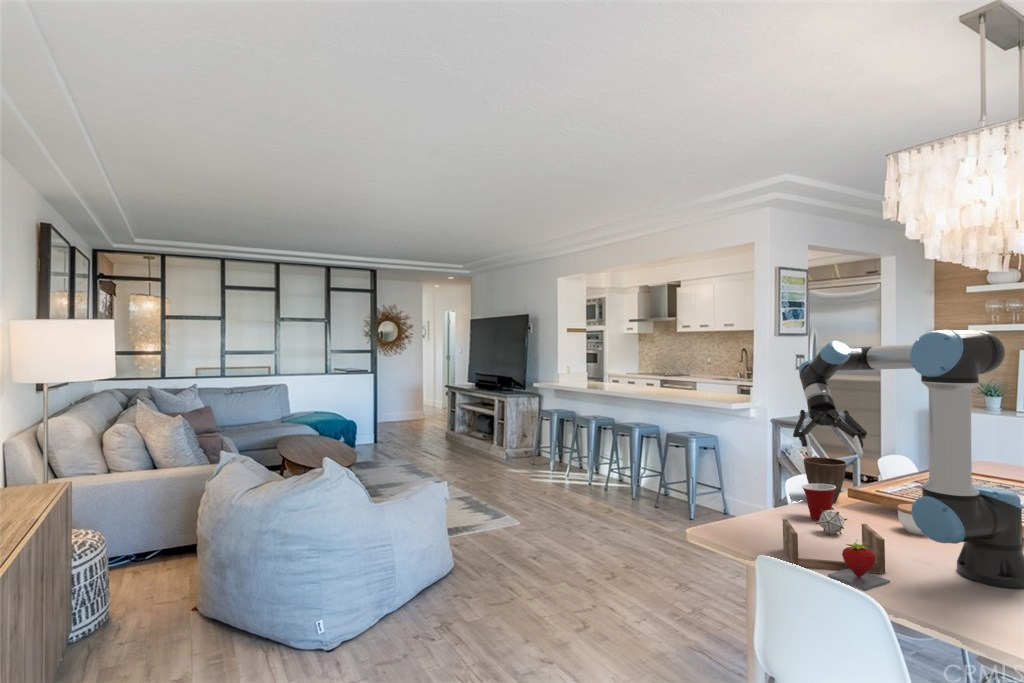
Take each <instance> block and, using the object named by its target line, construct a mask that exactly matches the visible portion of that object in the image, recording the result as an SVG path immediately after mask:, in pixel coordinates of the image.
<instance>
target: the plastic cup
mask: <svg viewBox="0 0 1024 683" xmlns="http://www.w3.org/2000/svg"><path fill="white" fill-rule="evenodd" d="M801 488H802V489H803V492H804V494H805V499H806V503H807V507H808V511H809V516H810V519H811V520H812V521H817V522H818V521H819V518H820V516H819V514H820V515H821V513H822V511H821V509H822V510H823V511H826V510H832V508H833V504H834V503H833V496H834V492H835V489H836V486H834V485H830V484H809V483H807V484H806V483H805V484H803V485H801ZM832 503H833V504H832Z"/></svg>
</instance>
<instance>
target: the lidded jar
mask: <svg viewBox="0 0 1024 683" xmlns="http://www.w3.org/2000/svg"><path fill="white" fill-rule="evenodd" d="M912 505H913V503H900V504H898V505H897V516H898V521H899V523H900V524H901V526H902V527H903V528H904V529H905V530H906V532H908V533H910V534H915V535H919V536H925V535H924V534H923V533H922V532H921V530H920V529H919V528H918V527H917V526H916V524H915V522H914V520H913V517H912Z"/></svg>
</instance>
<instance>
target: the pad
mask: <svg viewBox="0 0 1024 683" xmlns="http://www.w3.org/2000/svg"><path fill="white" fill-rule="evenodd" d="M827 577H829V578H831V579H833V580H837V581H840V582H841V583H842V582H843V583H844V584H847V585H850V586H852V587H855V588H858V589H861V590H863V591H869V590H872V589H875V588H878V587H881V586H884V585H888V584H891V580H890V579H887V578H885V577H881V576H878V575H875V574H873V573H871V572H866V573H865V574H864V575H863V576H862V577H857V576H856V575H855V574H854V573H853V571H852V570H851V569H850V568H848V569H844V570H837V571H835V572H831V573H828V574H827Z"/></svg>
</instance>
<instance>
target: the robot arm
mask: <svg viewBox="0 0 1024 683" xmlns="http://www.w3.org/2000/svg"><path fill="white" fill-rule="evenodd" d="M1005 357H1006V349H1005V346H1004V344H1003V341H1001V339H1000V338H999V337H998V336H996V335H995V334H993V333H991V332H989V331H985V330H979V329H968V330H965V329H963V330H962V329H961V330H959V329H958V330H957V329H942V330H933V331H929V332H926V333H924V334H922V335H920V336H919V337H918V338H917V339H915V341H914V342H913V343H903V344H902V343H901V344H899V343H898V344H887V345H876V346H874V345H873V346H862V347H856V346H855V347H849V345H847V344H846V343H844V342H841V341H838V340H831V341H829V342H828V343H827V344H826V345H825V346H823V347H822V348H821V349H820V351H819V352H818V353H817V355H816V356H815V357H814V359H808V360H806V361H805V362H802V363H801V364H800V365H799V367H798V373H799V375H798V377H799V379H800V382H801V386H802V389H803V391H804V392H803V393H804V396H805V400H806V403H807V407H808V411H806V410H804V409H800V411H799V419H798V421H797V423H796V425H795V427H794V431H793V434H792V437H793V438H798V439H799V441H800V443H801V446H802V448H805V449H806V454H807V456H808V457H807V458H810V457H812V455H813V449H812V443H811V440H810V437H809V434H810V432H811V431H812V430H813V429H814V428H815V427H817V425H819V426H833V427H835V428H836V429H839V430H840V431H842V432H844V433H845V434H846V435H847V436H849V437H851V438H852V444H853V446H854V450H855V452H856V455H857V459H858V460H862V458H863V456H864V451H863V448H864V445H865V444H864V442H863V440H864V439H866V437H867V435H868V431H867V430H866V429H864V428H863V427H862V426H861V425H860V424H859V422H857V421H856V420H855V419H854V418H853V417H852V416H851V415H850V413H849V411H848V410H847V409H844V410H843V411H842V412H841V411H840V412H838V411H837V409H836V405H835V402H834V399H833V396H832V393H831V390H830V386H829V382H828V381H829V380H830V379H831V378H832V377H833V376H834V375H835V374H836V373H837V372H838V371H875V370H901V369H903V370H905V369H906V370H907V369H913V370H915V371H916V372H917V373H918V374H919V375H921V376H920V377H921V378H920V382H921V383H922V384H923V385H925V387H927V389H928V462H929V464H928V469H929V471H928V472H929V473H928V474H929V476H928V477H929V479H928V480H927V481H925V482H924V483H923V484H922V486H921V489H922V490H921V491H922V492H921V496H919V497H917V498H916V500H915V501H914V502H912V504H913V505H912V517H913V520H914V522H915V524H916V526H917V527H918V528H919V529H920V530H921V532H922V533H923V534H924V535H923V536H925V537H926V538H928V539H930V540H931V541H934V542H935V543H939V544H954V545H956V544H960V543H963V545H962V548H961V550H960V552H959V555H958V557H957V560H956V571H957V573H959V574H960V575H961V576H963V577H965V578H967V579H969V580H972V581H975V582H977V583H981V584H985V585H990V586H995V587H1001V588H1008V589H1024V551H1023V522H1022V521H1023V518H1022V511H1023V507H1022V504H1021V503H1022V502H1021V497H1020V496H1019V495H1018V494H1017V493H1015V492H1012V491H1008V490H1005V489H1000V488H995V487H989V486H984V485H974V484H972V483H973V482H972V481H973V480H972V479H973V478H972V475H973V473H972V463H973V462H972V389H974V388H975V387H977V386H978V385H979V378H980V377H979V375H985V374H987V373H991V372H993V371H995V370H996V369H998V368H999V367H1000V366H1001V365H1002V363H1003V362H1004V359H1005ZM808 417H809V419H811V420H810V422H809V423H807V424H806V426H805V427H804V428H803V429H802V426H803V424H804V421H805V420H806V419H807V418H808ZM801 429H802V430H801Z"/></svg>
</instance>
